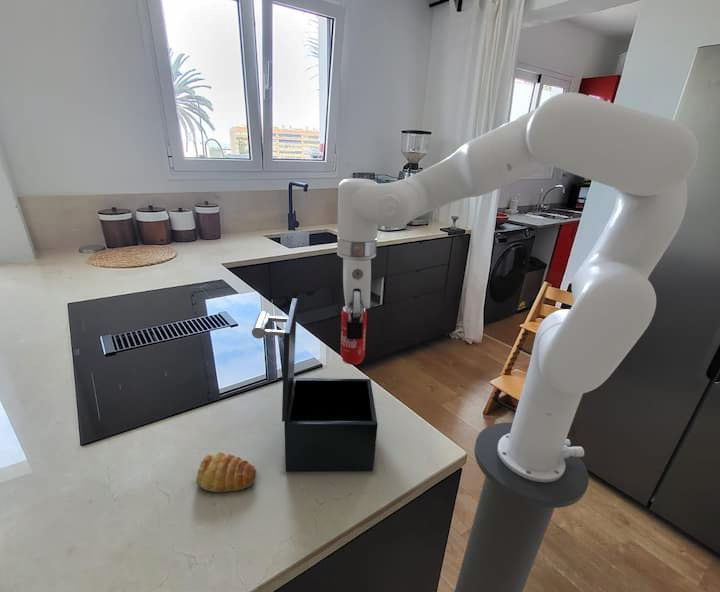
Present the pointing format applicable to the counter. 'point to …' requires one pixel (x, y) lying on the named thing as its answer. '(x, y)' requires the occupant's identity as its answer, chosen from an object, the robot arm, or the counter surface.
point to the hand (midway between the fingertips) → (353, 331)
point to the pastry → (225, 473)
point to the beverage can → (352, 340)
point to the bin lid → (289, 348)
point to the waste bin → (330, 426)
